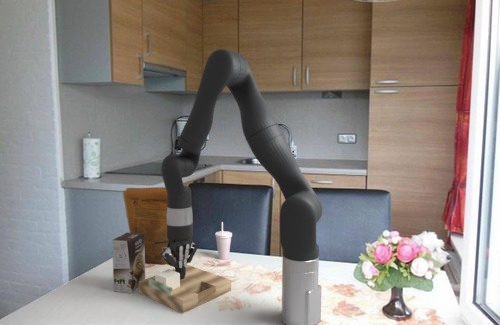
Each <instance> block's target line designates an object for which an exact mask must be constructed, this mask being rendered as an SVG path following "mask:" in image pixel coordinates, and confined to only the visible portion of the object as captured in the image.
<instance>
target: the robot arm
mask: <svg viewBox="0 0 500 325" xmlns="http://www.w3.org/2000/svg"><path fill="white" fill-rule="evenodd" d="M257 84H258V83H257V82H256V80H255V77H254V74H253V72H252V69H251V66H250V64H249V62H248V60H247V59H246V57H244V56H243V55H242V54H241V53H239V52H237V51H234V50H233V51H232V50H230V49H229V50H228V49H225V48H219V49H215V50H214V51H213V52H211V53H210V55H209V56H208V58H207V60H206V62H205V65H204V68H203V72H202V76H201V79H200V83H199V84H198V85H199V86H198V90H197V92H196V96H195V99H194V102H193V104H192V108H191V111H190V113H189V115H188V118H187V120H186V122H185V124H184V126H183V128H182V130H181V132H180V134H179V137H178V139H177V140H178V141H177V145H178V147H180V149H181V151H180V152H179V153H176V154H169V155H166V156H165V157H164V158H163V160H162V163H161V166H160V167H161V168H160V170H161V176H162V180H163V184H164V187H165V188H166V191H167V238H168V244H167V249H166V251H165V252H161V256H162V257H163V258H164V259H165V261H166V262H167V263H168V264H167V265H169V266H170V267H173V268H174V269H175V272H178V273H180V280H182V279H184V278H185V275H186V265H188V264H190V263H191V262H192V260H193V258H194V256H195V254H196V252H197V250H198V249H199V245H198V244H197V243H194V242H193V235H194V228H193V227H194V226H193V225H194V224H193V223H194V222H193V221H194V217H193V205H192V204H193V203H192V189H191V188H190V187H189V186H187V185H184V182H183V178H188V177H190V176H192V175H193V174H194V173H195V172H196V170H197V168H198V165H199V161H200V157H201V151H202V148H203V146H204V145H205V142H206V141H207V139H208V136H209V134H210V132H211V129H212V127H213V121H214V114H215V108H216V104H217V101H218V99H219V97H220V95H221V93H222V92H223V91H224V89H225V88H226V87H227V88H228V90H229V92H230V94H232V97H233V98H234V100H235V102H236V103H237V107H238V110H239V114H240V122H241V129H242V133H243V136H244V137H245V141H246V142H247V144H248V146H249V149H250V150H251V152H252V154H253V156H254V157H255V159H256V160H257V161H258V162H259V164H260V165H261V166H262V168H263V169H265V170H266V171H267V173H268V174H269V175H270V176H271V177H272V178H273V179H274V181H275V183H276V184H277V185H278V187H279V189H280V191H281V193H282V195H283V197H284V201H283V202H282V204H281V206H280V212H279V241H280V247H281V250H282V265H281V266H282V269H281V271H282V272H281V277H282V278H281V321H282V323H284V324H285V325H317V324H318V323H320V322H321V318H322V285H321V284H319V266H320V264H319V262H320V261H319V260H320V247H319V244H318V243H317V223H318V222H319V221H320V219H321V217H322V215H323V206H322V205H323V204H322V202H321V200H320V198H319V196H318V195H317V194H316V192H315V190H314V189H313V188H312V186H311V185H310V183H309V182H308V180H307V178H306V177H305V175H304V174H303V172H302V171H301V169H300V166H299V165H298V163H297V161H296V158H295V156H294V153H293V152H292V150H291V148H290V146H289V144H288V142H287V140H286V137H285V136H284V133H283V132H282V130H281V128H280V126H279V124H278V122H277V121H276V119H275V117H274V115H273V114H272V111H271V110H270V108H269V105H268V104H267V103H266V100H265V98H264V97H263V96H262V94H261V92H260V89H259V87H258V85H257ZM171 253H172V255H171ZM171 256H172V257H171Z"/></svg>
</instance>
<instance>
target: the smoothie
mask: <svg viewBox="0 0 500 325" xmlns="http://www.w3.org/2000/svg"><path fill="white" fill-rule="evenodd" d="M214 235H215V239H216V247H217V255H218V259H219V260H220V261H227V260H229V258H230V251H231V250H230V249H231V243H232V237H233V232H231V231H225V230H224V222H223V221H221V230H220V231H216V232H215V234H214Z"/></svg>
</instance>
